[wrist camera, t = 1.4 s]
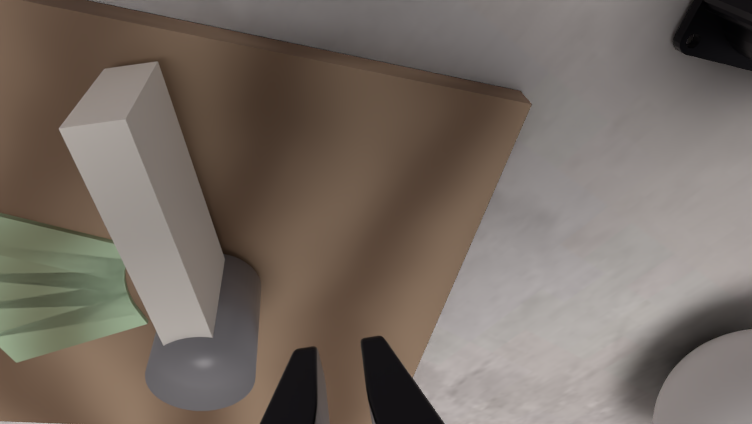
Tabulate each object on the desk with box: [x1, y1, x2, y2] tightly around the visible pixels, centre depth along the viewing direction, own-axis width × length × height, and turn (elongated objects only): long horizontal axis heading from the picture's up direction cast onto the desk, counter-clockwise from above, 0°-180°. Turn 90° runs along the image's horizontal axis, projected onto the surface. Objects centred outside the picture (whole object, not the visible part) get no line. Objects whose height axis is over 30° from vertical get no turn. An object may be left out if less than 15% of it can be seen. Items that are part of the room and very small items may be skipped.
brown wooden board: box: [0, 0, 532, 424], centre depth 23 cm, size 20×20×1 cm
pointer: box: [59, 61, 261, 411], centre depth 18 cm, size 11×4×4 cm, turn 6°
